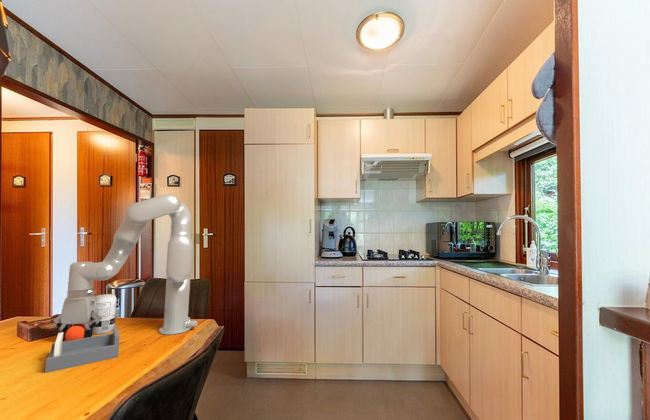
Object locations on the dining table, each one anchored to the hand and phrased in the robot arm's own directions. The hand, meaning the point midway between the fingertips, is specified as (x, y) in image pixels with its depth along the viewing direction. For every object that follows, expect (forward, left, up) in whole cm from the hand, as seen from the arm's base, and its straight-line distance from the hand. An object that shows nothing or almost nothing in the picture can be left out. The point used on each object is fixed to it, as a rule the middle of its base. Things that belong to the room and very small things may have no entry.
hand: (76, 339), depth 108 cm
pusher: (-6, +17, 0) cm, 18 cm away
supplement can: (-2, -12, -1) cm, 12 cm away
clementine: (0, 0, -1) cm, 1 cm away
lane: (-12, +13, -1) cm, 18 cm away
